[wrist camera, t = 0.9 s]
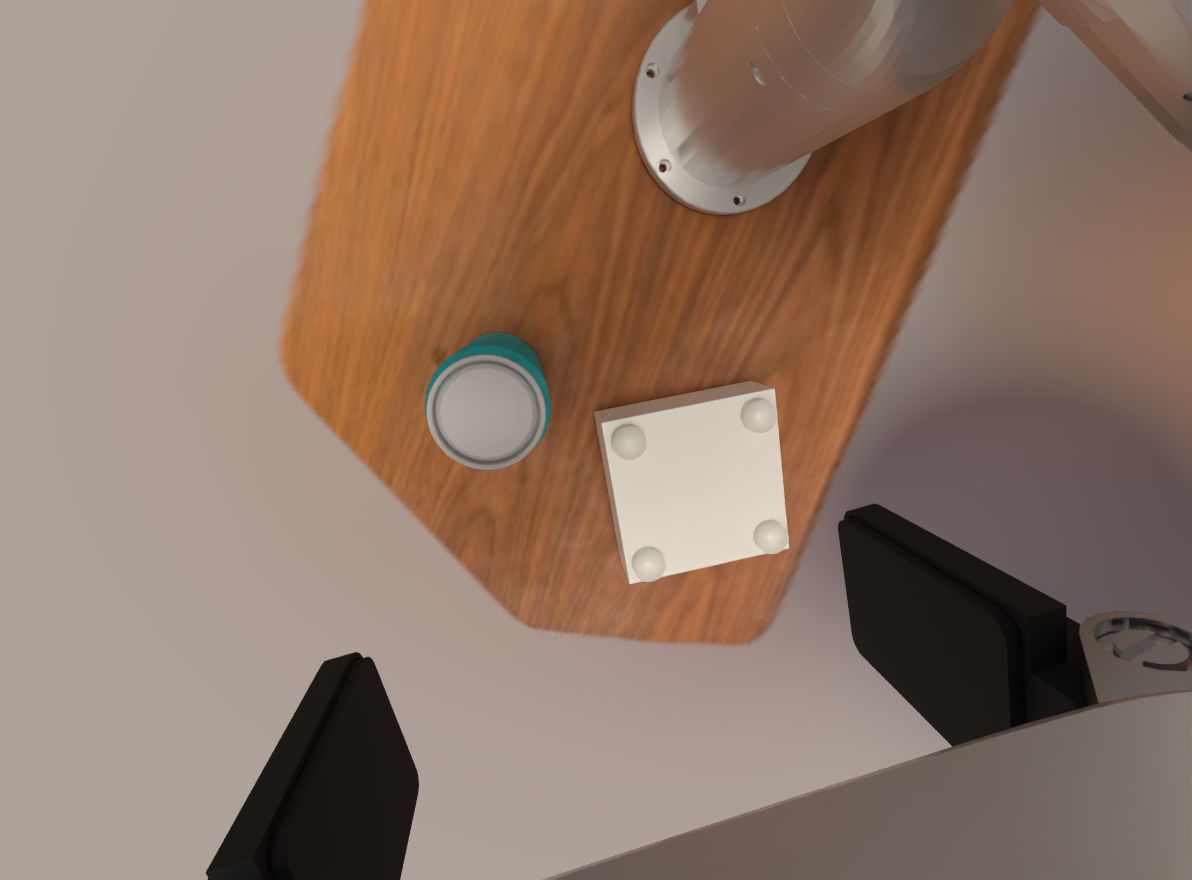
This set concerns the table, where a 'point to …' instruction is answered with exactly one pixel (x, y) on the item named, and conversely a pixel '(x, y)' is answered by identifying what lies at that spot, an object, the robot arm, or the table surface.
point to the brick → (694, 479)
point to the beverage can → (489, 402)
